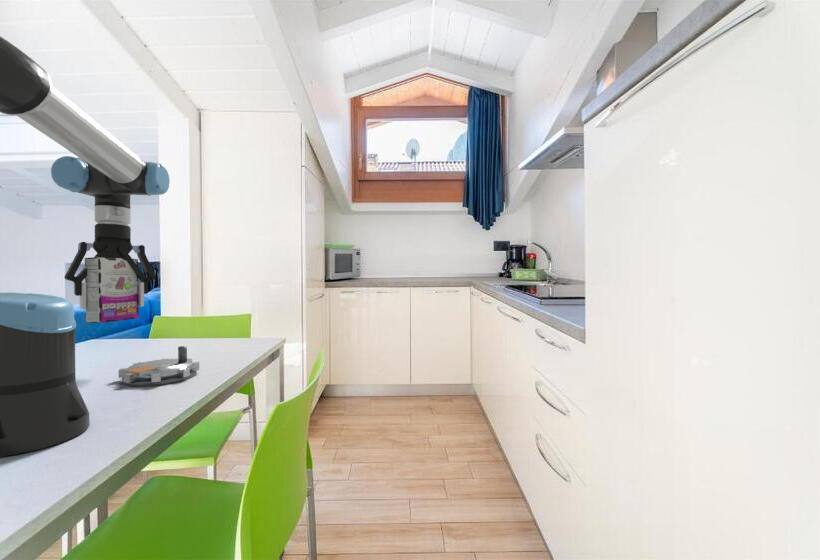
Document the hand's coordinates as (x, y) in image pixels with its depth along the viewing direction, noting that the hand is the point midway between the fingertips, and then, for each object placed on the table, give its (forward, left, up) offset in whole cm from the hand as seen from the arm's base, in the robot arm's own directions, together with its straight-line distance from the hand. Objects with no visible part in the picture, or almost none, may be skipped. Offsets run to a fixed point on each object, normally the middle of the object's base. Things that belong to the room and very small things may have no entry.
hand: (113, 307), depth 104 cm
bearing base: (+6, -14, -17) cm, 23 cm away
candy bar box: (0, 0, -4) cm, 4 cm away
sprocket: (+6, -14, -17) cm, 23 cm away
